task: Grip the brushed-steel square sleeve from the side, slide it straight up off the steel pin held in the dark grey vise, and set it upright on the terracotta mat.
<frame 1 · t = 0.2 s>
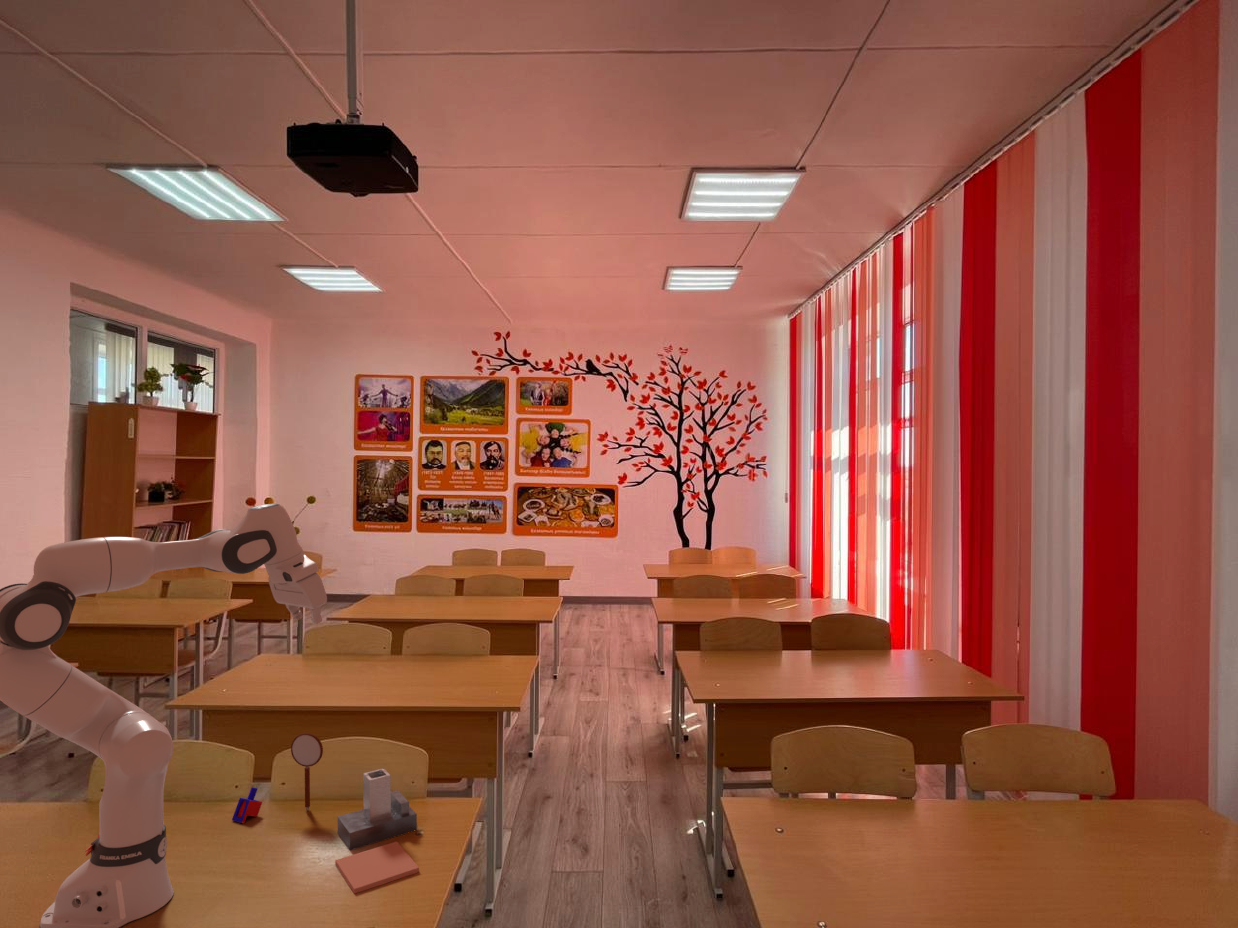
hand: (308, 620, 183), 52 cm above the table, tool tilted 20°, fingers open, 8 cm apart
magnifying glass: (307, 810, 197), on the table
terracotta mat: (376, 868, 169), on the table
steel sleeve: (377, 815, 186), point 4 cm above the table, touching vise
toy building block: (247, 818, 193), on the table
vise: (377, 831, 186), on the table
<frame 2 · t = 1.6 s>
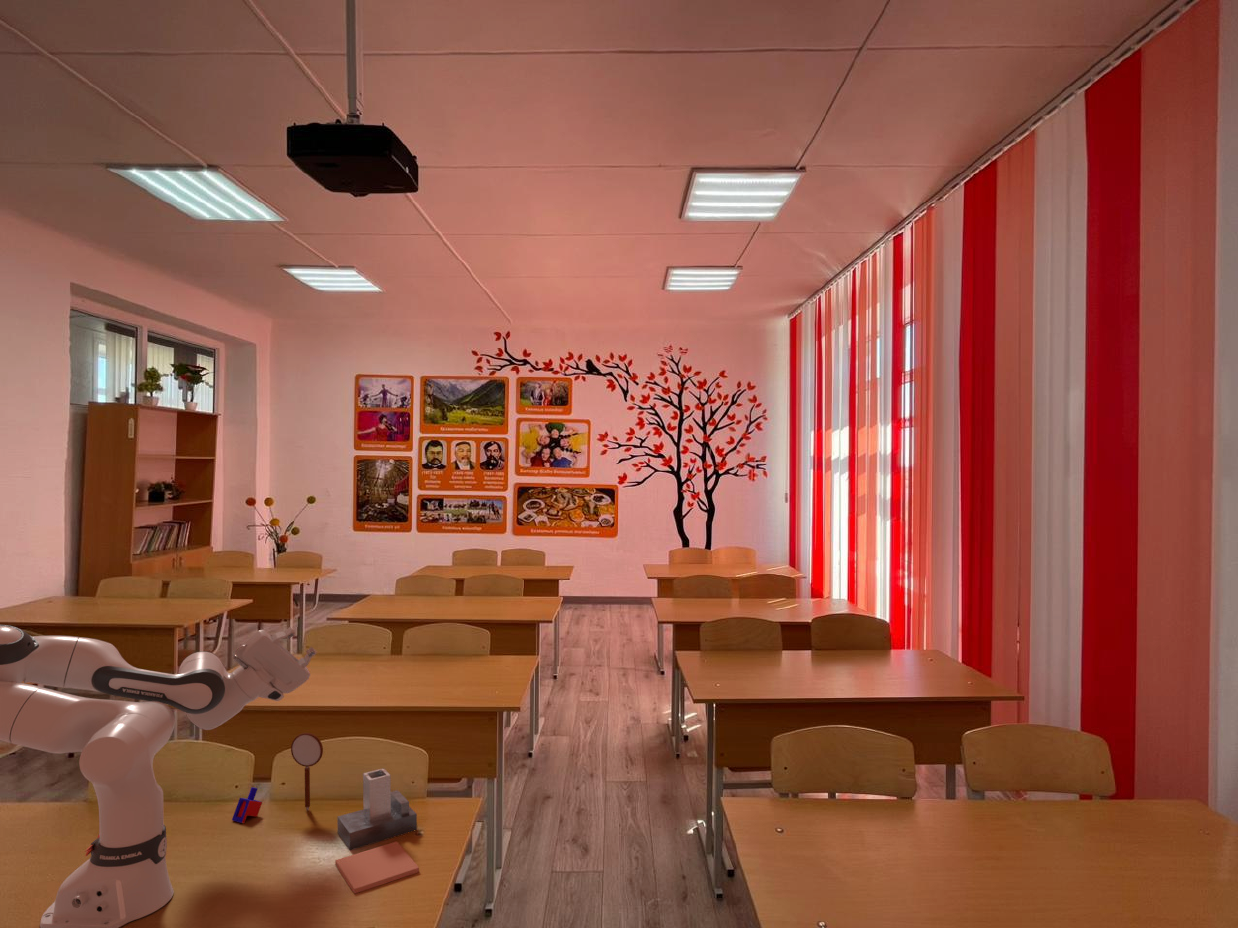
hand: (303, 640, 192), 45 cm above the table, tool pointing upward, fingers open, 8 cm apart
nothing on the table moved.
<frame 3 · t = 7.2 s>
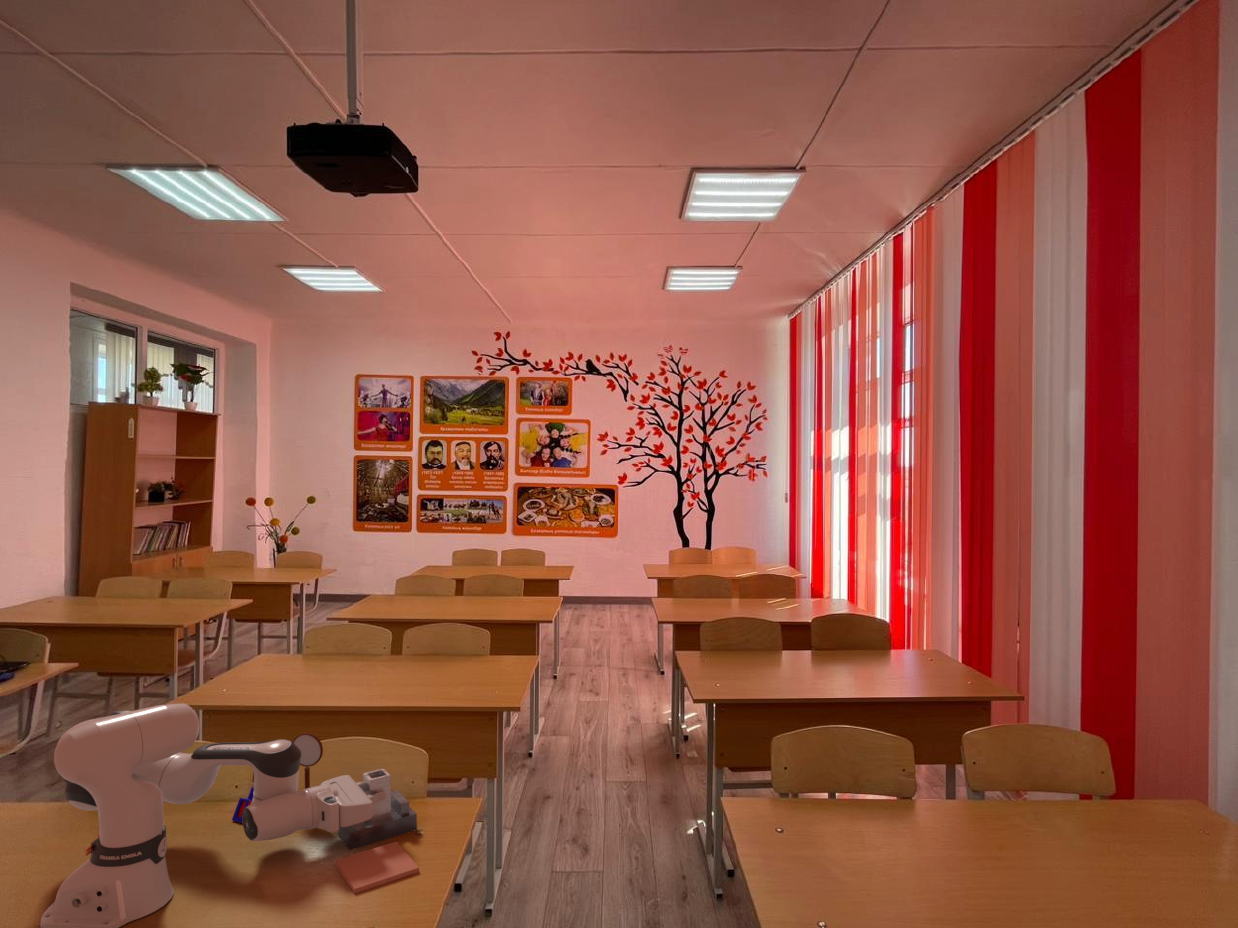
hand: (380, 789, 186), 10 cm above the table, tool horizontal, fingers closed on steel sleeve, 5 cm apart
steel sleeve: (377, 815, 186), point 4 cm above the table, touching gripper, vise
everything else where it was.
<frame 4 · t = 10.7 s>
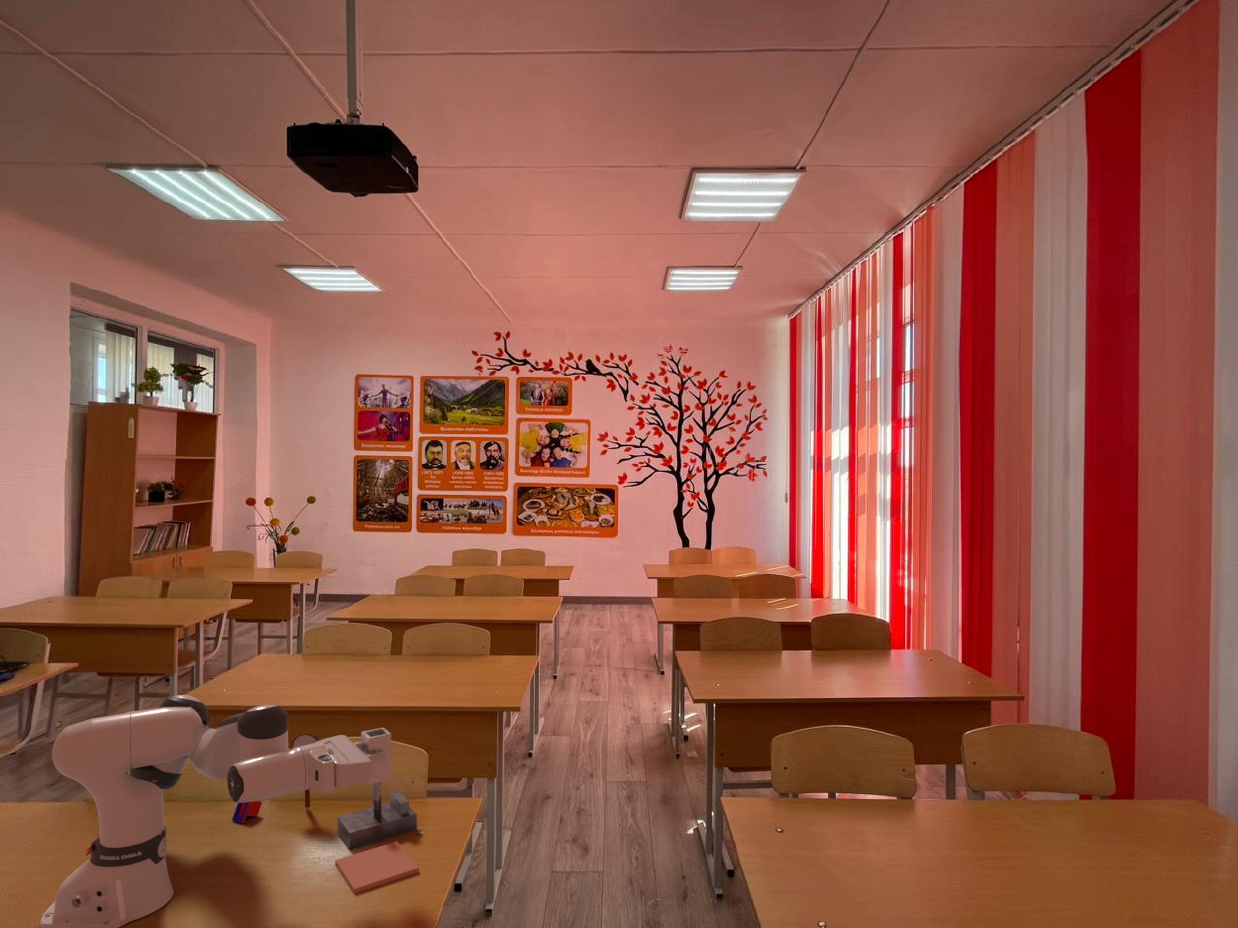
hand: (379, 749, 170), 26 cm above the table, tool horizontal, fingers closed on steel sleeve, 5 cm apart
steel sleeve: (376, 777, 169), point 20 cm above the table, touching gripper
everything else where it was.
when the fingers open (8 cm above the table, at t = 14.5 s): steel sleeve drops 1 cm, resting on terracotta mat.
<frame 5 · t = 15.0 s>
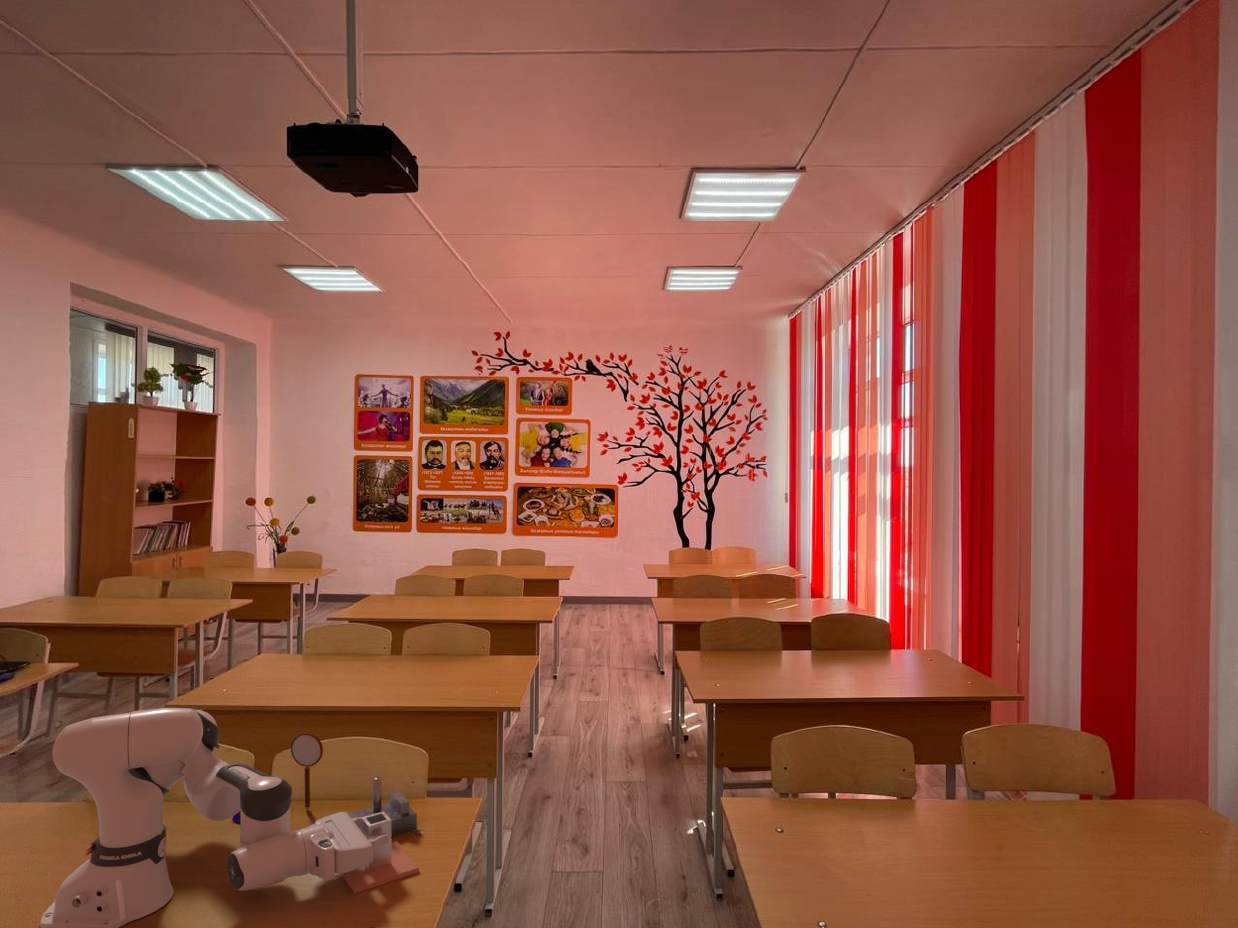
hand: (380, 828, 170), 8 cm above the table, tool horizontal, fingers open, 8 cm apart
steel sleeve: (376, 863, 169), point 1 cm above the table, touching terracotta mat
everything else where it was.
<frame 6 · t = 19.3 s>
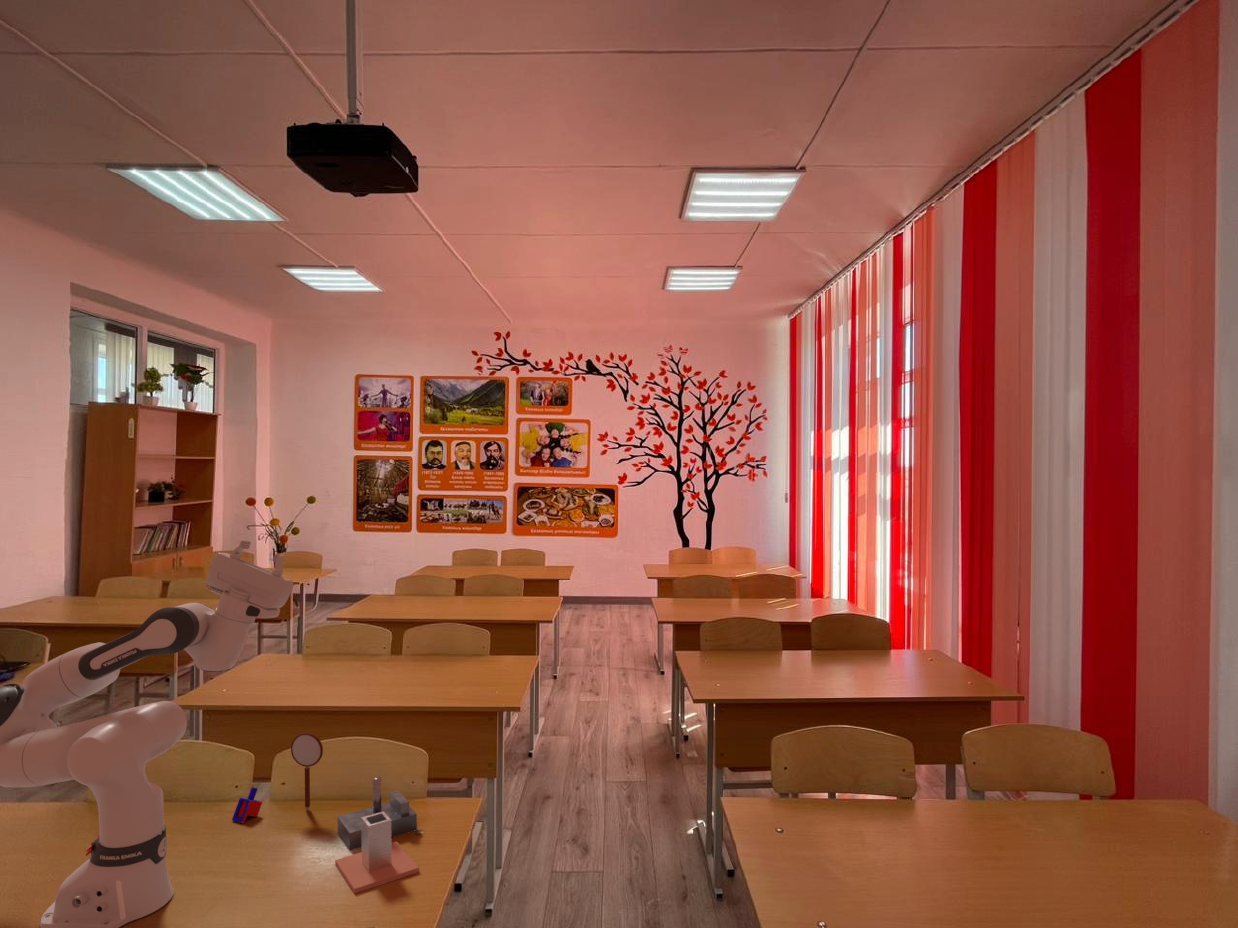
hand: (263, 547, 179), 70 cm above the table, tool pointing upward, fingers open, 8 cm apart
nothing on the table moved.
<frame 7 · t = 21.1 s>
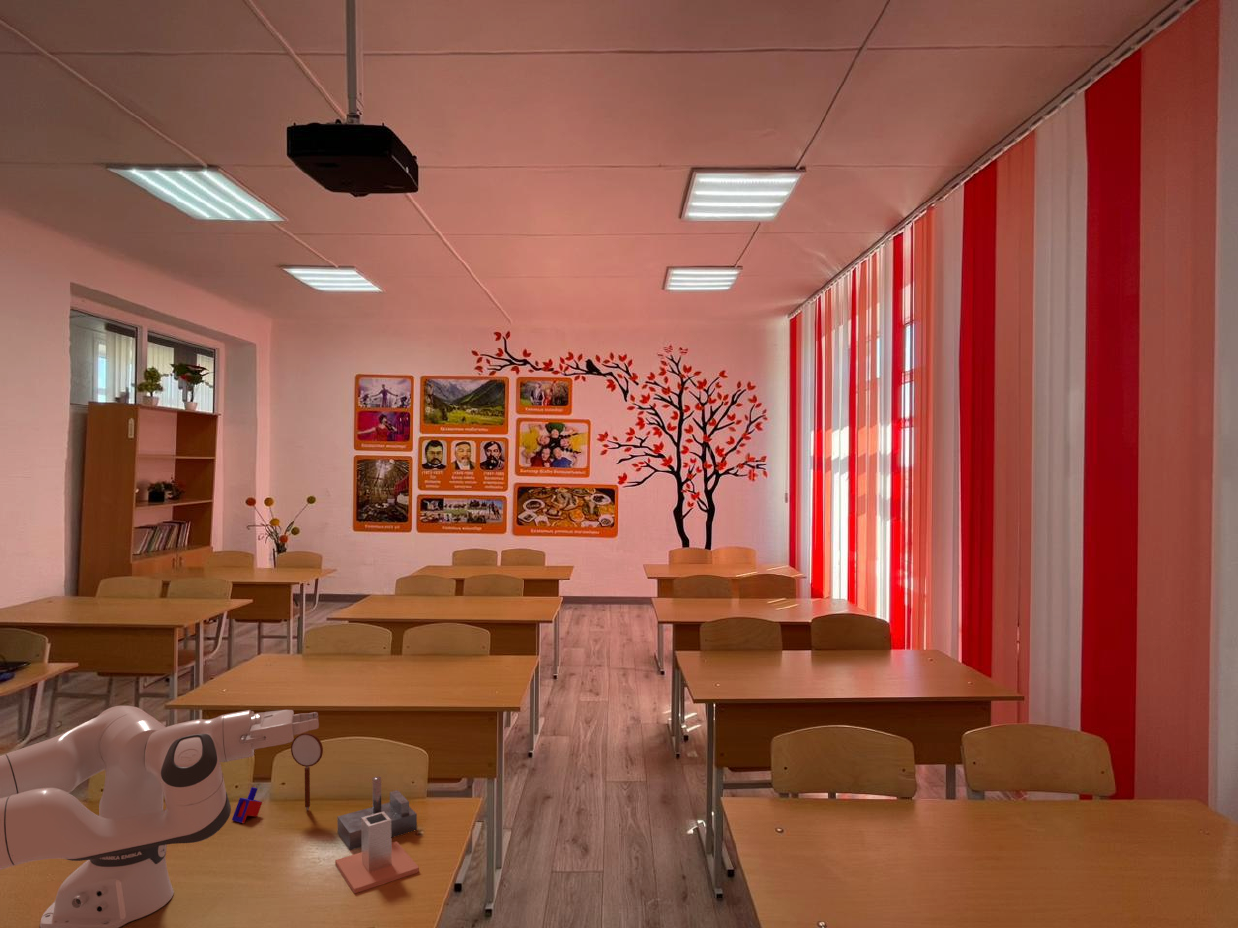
hand: (318, 719, 155), 38 cm above the table, tool horizontal, fingers open, 8 cm apart
nothing on the table moved.
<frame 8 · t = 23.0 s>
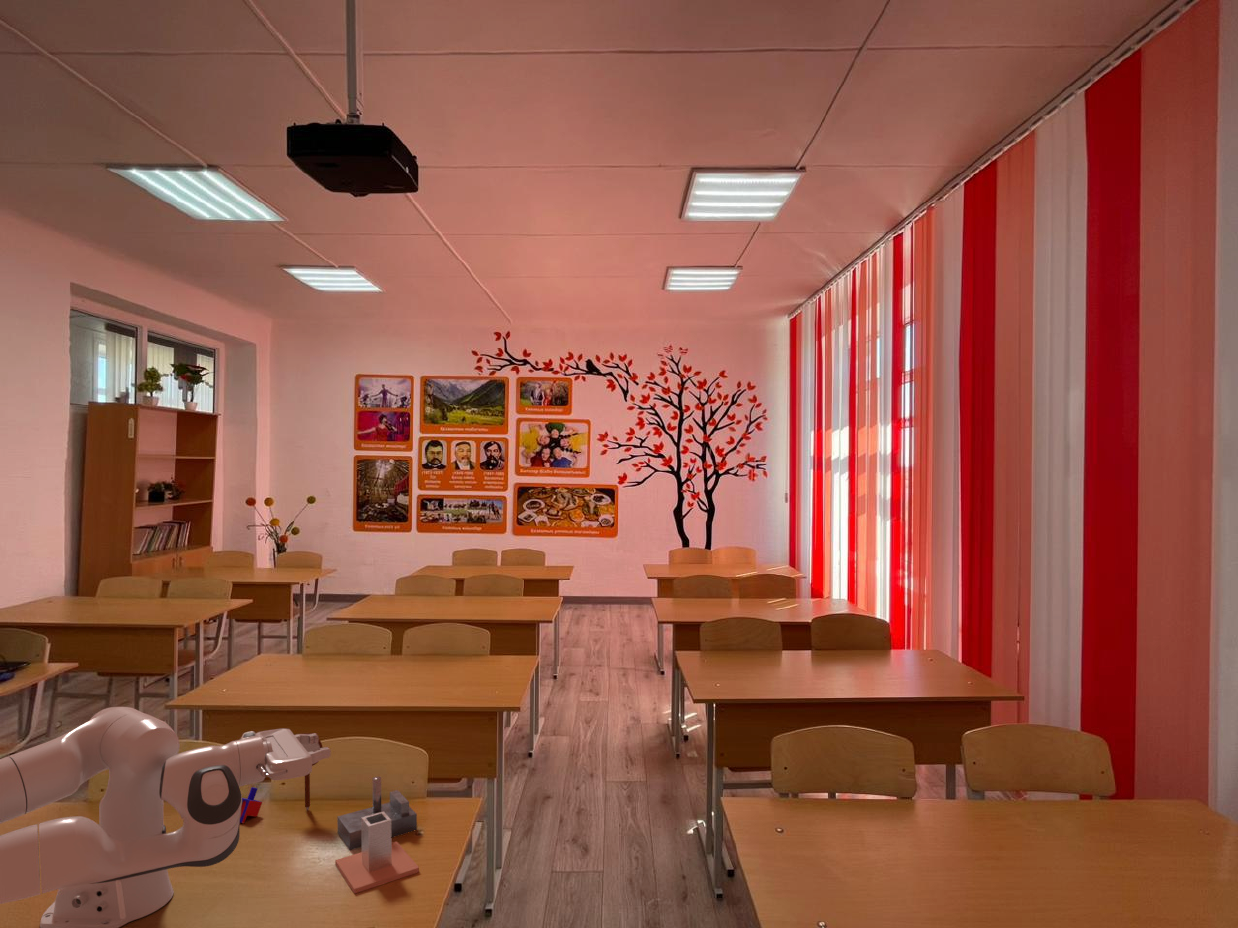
hand: (323, 744, 162), 30 cm above the table, tool horizontal, fingers open, 8 cm apart
nothing on the table moved.
at the end: steel sleeve inside the target area on the terracotta mat (0.1 cm from its centre), point 1.0 cm above the terracotta mat's base; steel sleeve tilted 0°; steel sleeve touching terracotta mat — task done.
